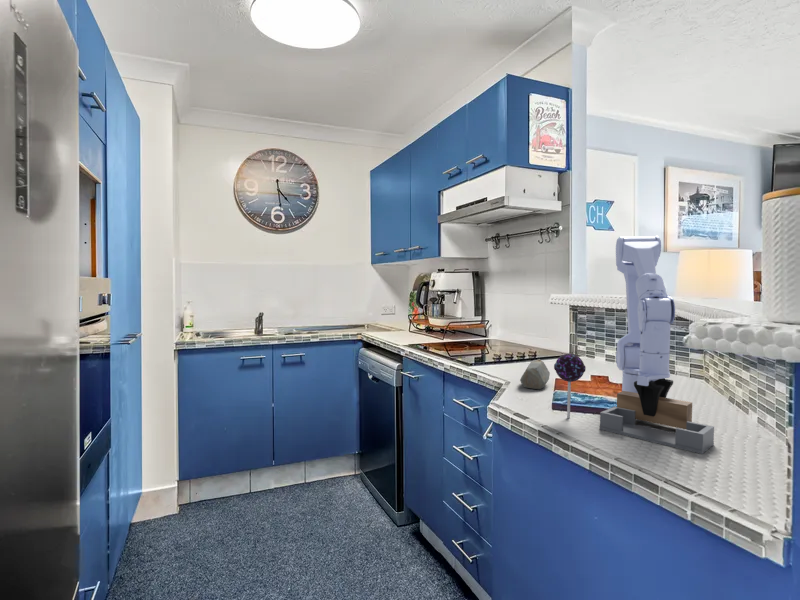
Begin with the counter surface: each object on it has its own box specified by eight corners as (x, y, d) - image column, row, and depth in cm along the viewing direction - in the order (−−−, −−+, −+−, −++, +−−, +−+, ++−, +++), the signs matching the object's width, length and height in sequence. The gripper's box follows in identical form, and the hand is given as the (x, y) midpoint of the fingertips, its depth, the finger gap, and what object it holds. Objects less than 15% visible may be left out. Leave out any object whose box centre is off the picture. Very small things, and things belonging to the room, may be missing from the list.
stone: (545, 391, 133) (546, 364, 133) (517, 388, 137) (517, 362, 136) (551, 383, 144) (552, 358, 144) (525, 380, 148) (526, 356, 147)
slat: (623, 411, 108) (623, 390, 108) (691, 425, 98) (692, 402, 98) (616, 415, 105) (617, 393, 105) (686, 429, 95) (687, 405, 95)
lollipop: (547, 417, 106) (548, 353, 106) (561, 412, 111) (562, 350, 111) (576, 424, 102) (577, 357, 101) (589, 418, 106) (590, 353, 106)
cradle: (614, 422, 103) (614, 406, 103) (713, 444, 89) (714, 426, 89) (599, 429, 98) (599, 412, 98) (702, 453, 84) (702, 434, 84)
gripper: (646, 347, 109) (644, 403, 109) (622, 353, 99) (621, 415, 99) (680, 350, 104) (678, 409, 104) (658, 357, 94) (657, 423, 94)
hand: (652, 413), depth 101 cm, fingers closed on slat, 4 cm apart
